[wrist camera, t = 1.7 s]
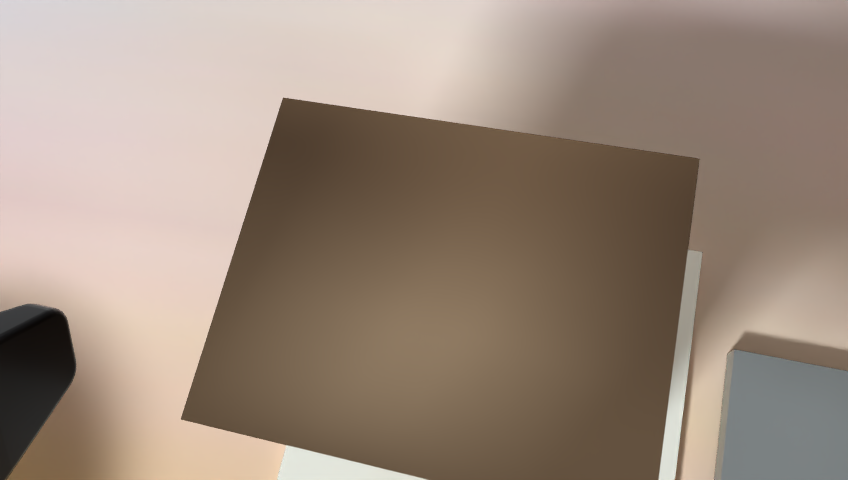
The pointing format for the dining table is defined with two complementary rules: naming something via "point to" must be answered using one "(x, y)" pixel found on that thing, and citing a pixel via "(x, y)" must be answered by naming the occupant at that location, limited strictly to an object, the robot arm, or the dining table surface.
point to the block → (452, 299)
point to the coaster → (782, 420)
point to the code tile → (330, 476)
